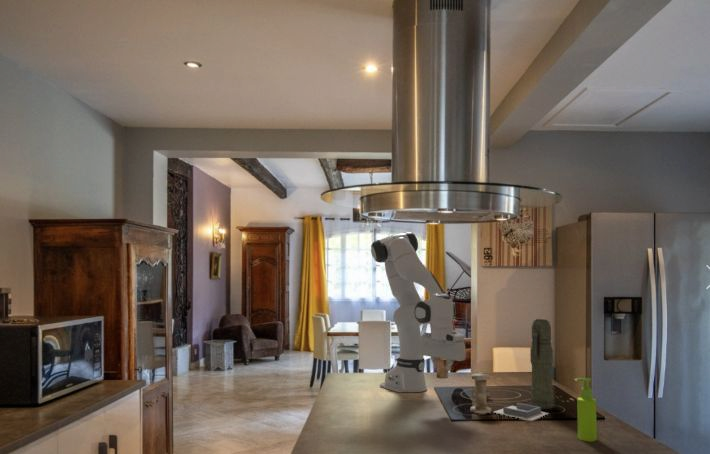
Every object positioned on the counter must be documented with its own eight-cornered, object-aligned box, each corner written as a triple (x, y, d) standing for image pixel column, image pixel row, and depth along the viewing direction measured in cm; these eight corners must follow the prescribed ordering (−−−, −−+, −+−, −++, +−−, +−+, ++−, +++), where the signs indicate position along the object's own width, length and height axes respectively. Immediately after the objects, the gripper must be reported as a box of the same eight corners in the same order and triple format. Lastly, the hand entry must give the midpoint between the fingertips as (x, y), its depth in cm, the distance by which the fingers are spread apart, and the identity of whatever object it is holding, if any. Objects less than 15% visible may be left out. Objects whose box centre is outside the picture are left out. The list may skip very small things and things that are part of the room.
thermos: (526, 407, 238) (525, 320, 240) (536, 401, 248) (535, 318, 249) (548, 411, 233) (547, 321, 235) (557, 405, 242) (556, 319, 244)
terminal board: (493, 413, 229) (493, 406, 229) (511, 407, 239) (511, 400, 239) (531, 421, 218) (531, 414, 218) (549, 414, 227) (548, 407, 228)
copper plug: (434, 377, 234) (434, 359, 235) (440, 375, 238) (440, 358, 238) (443, 379, 231) (443, 361, 232) (449, 377, 234) (449, 359, 235)
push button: (491, 395, 258) (491, 372, 259) (487, 398, 254) (487, 374, 254) (477, 393, 262) (477, 371, 262) (472, 396, 257) (472, 373, 258)
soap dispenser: (571, 436, 200) (571, 376, 201) (591, 435, 200) (590, 376, 201) (579, 441, 194) (578, 380, 195) (600, 441, 194) (598, 380, 195)
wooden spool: (466, 411, 232) (466, 375, 232) (477, 407, 237) (477, 372, 238) (484, 415, 226) (483, 378, 227) (495, 411, 232) (494, 375, 232)
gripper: (416, 332, 240) (416, 366, 240) (458, 337, 226) (458, 374, 225) (426, 331, 245) (426, 364, 244) (468, 336, 230) (468, 372, 230)
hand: (442, 369), depth 235 cm, fingers closed on copper plug, 4 cm apart
